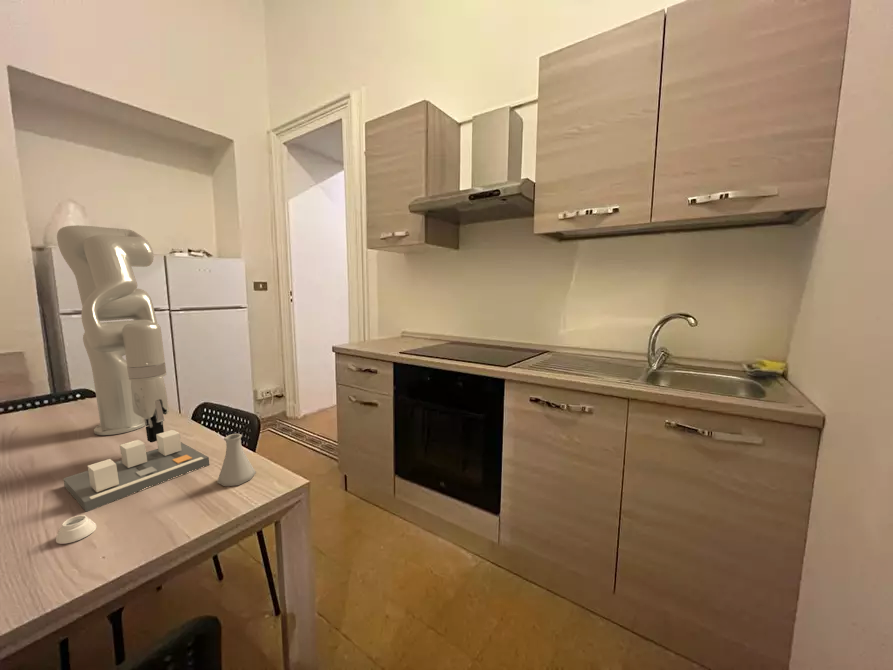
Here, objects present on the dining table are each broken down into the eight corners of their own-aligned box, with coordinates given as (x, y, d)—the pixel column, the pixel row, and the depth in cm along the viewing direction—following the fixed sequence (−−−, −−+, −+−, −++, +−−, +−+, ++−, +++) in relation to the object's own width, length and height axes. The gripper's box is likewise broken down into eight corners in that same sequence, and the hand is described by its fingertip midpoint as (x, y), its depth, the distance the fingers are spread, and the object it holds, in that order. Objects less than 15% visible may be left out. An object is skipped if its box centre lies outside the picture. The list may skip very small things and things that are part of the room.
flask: (239, 489, 79) (234, 444, 78) (210, 485, 81) (205, 442, 79) (262, 472, 86) (258, 431, 85) (235, 469, 88) (231, 428, 86)
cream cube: (158, 451, 92) (156, 434, 91) (174, 446, 95) (172, 429, 94) (165, 455, 90) (162, 438, 89) (181, 450, 92) (179, 433, 92)
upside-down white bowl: (65, 531, 66) (50, 549, 62) (63, 516, 66) (47, 533, 61) (101, 523, 68) (88, 540, 64) (99, 508, 68) (86, 525, 63)
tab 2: (122, 463, 86) (119, 444, 85) (140, 457, 89) (138, 439, 88) (128, 467, 84) (125, 449, 83) (147, 461, 87) (144, 443, 86)
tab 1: (90, 486, 76) (87, 465, 76) (112, 478, 79) (109, 458, 79) (96, 492, 74) (93, 471, 74) (119, 484, 77) (116, 463, 76)
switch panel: (64, 486, 81) (63, 477, 80) (180, 448, 99) (179, 440, 98) (85, 511, 72) (84, 501, 71) (209, 464, 90) (208, 456, 89)
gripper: (118, 370, 95) (128, 438, 98) (139, 378, 87) (149, 452, 89) (153, 365, 101) (161, 429, 104) (176, 372, 93) (185, 441, 96)
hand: (156, 439), depth 97 cm, fingers closed
